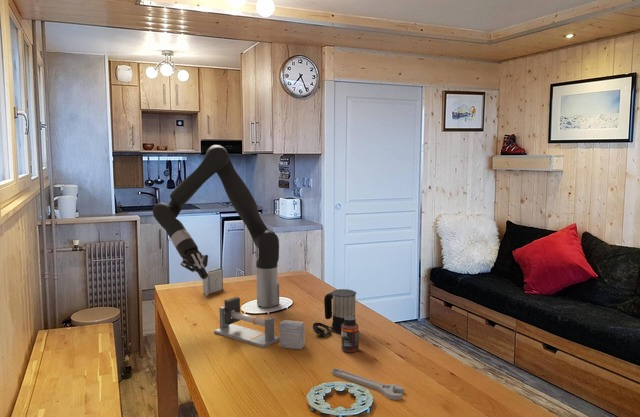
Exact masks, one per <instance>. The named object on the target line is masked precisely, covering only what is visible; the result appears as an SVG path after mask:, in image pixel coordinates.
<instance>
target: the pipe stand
mask: <svg viewBox="0 0 640 417" xmlns="http://www.w3.org/2000/svg"><path fill="white" fill-rule="evenodd" d="M231 318H235V319H239V320H240V321H243V322H246V323H250V324H253V325H256V326H257V325H259V326H261V327H264V332H263V331H259V330H256V329H252V328H250V327H249V328H248V327H245V326H242V325H238V324H234V323H232V324H230V325H228V324H225V305H224V306H220V307H219V328H216V329H214V330H213V333H214V334H216V335H220V336H223V337H227V338H230V339H234V340H237V341H239V342H243V343H245V344H246V343H247V344H250V345H253V346H256V347H259V348H263V349H264V348H266V347H268V346H270V345H272V344H274V343H276V342H280V336H276V335H275V317H272V316H269V317H268V318H262V317H259V316H257V315H255V316H254V315H250V314H245V313H242V312H240V313H239V312H235V311H234V310H233V311H231Z"/></svg>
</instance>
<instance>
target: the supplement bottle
mask: <svg viewBox="0 0 640 417" xmlns="http://www.w3.org/2000/svg"><path fill="white" fill-rule="evenodd" d="M340 335H341V336H340V337H341V340H340V341H341V343H340V344H341V350H342V351H343V352H345V353H356V352H357V351H359V349H360V348H359V345H360V344H359V339H360V338H359V337H360V335H359V323H357V321H356V316H355V317H352V316H348V317H345V318H344V323H343V324H342V326H341V333H340Z"/></svg>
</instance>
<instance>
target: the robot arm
mask: <svg viewBox="0 0 640 417" xmlns="http://www.w3.org/2000/svg"><path fill="white" fill-rule="evenodd" d="M231 160H232V159H231V158H230V155H229V152H228V151H227V149H226V148H225V147H224V146H222V145H221V144H213V145H211V146H210V147H208V149H207V150H206V152H205V157H204V158H203V160H202V161H201V163H199V166H198V167H197V168H196V169H194V171H193V172H192V173H190V174H189V175H188V176H187V177H186V178H184V179H183V180H182V182H181V183H180V182H179V184H178V185H177V186H176V187H175V188H174V190H173V191H172V192H171V193H170V194H169V198H170V202H169V203H168V204H167V203H165V202H157V203H155V205H154V206H153V208H152V214H153V217H154V219H155V220H156V222H158V224H159V225H160V226H161V227H162V228H163V229H164V231H165V232H166V234H167V236H168V237H169V239H170V241H171V243H172V244H173V247H174V248H175V250H176V251H177V253H178V255H179V256H180V257H181V258H182V261H181V262H180V266H181V267H183V268H185V269H187V270H188V271H190V272H192V273H194V272H195V273H197V274H198V276H199V278H200V279H201V280H203V279H206V278H207V277H208V273H207V272H206V271H207V270H206V268H207V266H208V261H209V260H208V259H209V255H208V254H205V255H204V254H202V252H201V251H199V247H198V245H197V243H196V242H195V240H194V239H193V237H192V236H191V234H190V233H189V231H188V230H187V229H186V228H185V226H184V224H183V223H182V221H181V220H179V219H178V216H179V215H180V212H181V211H182V210H183V208H184V206H185V205H186V203H188V201H189V200H190V199H191V198H192V197H193V196H194V195H195V194H196V193H197V191H198V190H199V189H200V188H201V187H202V186H203V185H204V184H205V183H206V182H207V181H208V180H209V179H210V178H211V177H212V176H214V175H215V174H217V177H219V179H220V181H221V183H222V185H223V188H224V190H225V193H226V196H227V198H228V199H229V202H231V205H232V206H233V208H234V210H235V212H236V213H237V214H238V216H239V218H240V219H241V221H242V222H243V224H244V225H245V226H246V228H247V230H248V232H249V234H250V237H251V239H252V241H253V244H254V245H255V247H256V248H257V250H258V258H257V260H256V261H255V262H256V263H255V264H256V266H255V267H256V268H255V269H256V270H255V271H256V272H255V273H256V305H258V306H257V307H259V306H261V307H260V308H264V307H269V308H274V307H277V306H280V284H279V282H278V274H279V273H278V263H279V258H280V238H279V236H278V235H277V234H276V233H275V232H273V231H272V230H270V229H269V228H268V227H267V225H266V224H265V222H264V221H263V219H262V218H261V216H260V213H259V209H258V205H257V202H256V200H255V198H254V196H253V195H252V193H251V191H250V189H249V188H248V186H247V185H246V183H245V182H244V180H243V179H242V178H241V176H240V175H239V174H238V172H237V171H236V169H235V167H234V165H233V163H232V161H231ZM276 305H277V306H276ZM273 306H274V307H273Z"/></svg>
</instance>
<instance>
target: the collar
mask: <svg viewBox="0 0 640 417" xmlns="http://www.w3.org/2000/svg"><path fill="white" fill-rule="evenodd" d="M224 306H225V324H228V325H230V324H234V323H237V322H240V321H241V320H239V319H235V318H232V317H231V311H235V312H239V313H241V297H238V296H235V297H232V298H229V299H225V300H224Z"/></svg>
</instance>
